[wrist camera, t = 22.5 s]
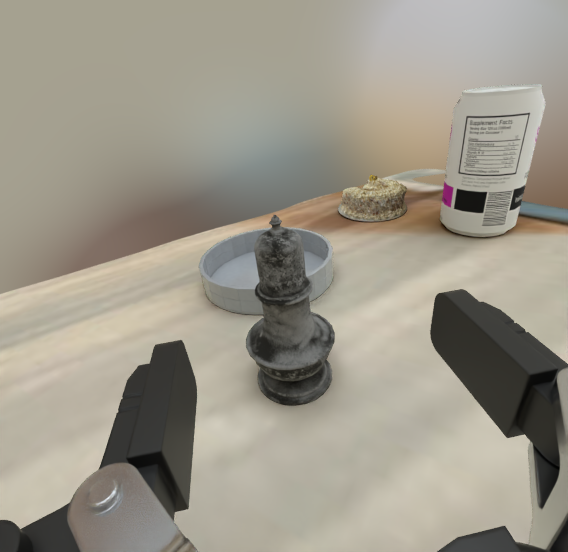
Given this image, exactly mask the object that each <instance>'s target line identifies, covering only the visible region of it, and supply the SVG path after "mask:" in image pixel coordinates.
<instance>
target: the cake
mask: <svg viewBox="0 0 568 552" xmlns="http://www.w3.org/2000/svg"><path fill="white" fill-rule="evenodd" d="M406 189H407V188H406V187H405V186H403V185H402V184H399V183H398V182H397V181H393V180H389V179H388V180H387V179H386V180H384V179H381V178H379V179H377V176H373V175H370V177H369V179H368V181H367V184H365V185H364V187H362V188H359V187H358V188H357V187H351V188H348V189H346V190H344V191H343V193H342V194H343V197H342V201H341V204H340V205H339V207H338V208H339V209H338V210H339V212H340V213H341V214H342V215H343V216H344V217H347V218H351V219H353V220H358V221H369V222H374V221H376V222H380V221H385V220H391V219H395V218H397V217H400V216H401V215H403V214H404V213H405V212H406V210H407V205H406V204H405V201H404V195H405V193H406Z"/></svg>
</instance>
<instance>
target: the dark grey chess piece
mask: <svg viewBox="0 0 568 552" xmlns="http://www.w3.org/2000/svg"><path fill="white" fill-rule="evenodd" d="M281 222H282V221H281V220H279V218H278V217H277V216H276V215H274V216H273V218H272V219H271V221H270V222H269V223H270V224H271V225H272V228H270V229H269V230H268V231H266V232H264V233H263V234H261V235H260V236H259V237H258V239H257V240H256V242H255V245H254V251H255V257H256V264H257V270H258V276H259V283H258V284H257V285H256V288H255V295H256V297H257V299H258V300H260V301H261V302H262V307H263V313H264V318H262V319H261V320H260V321H258V322H257V323H256V324H255V325H254V326H253V327H252V328H251V330H250V331H249V333H248V336H247V338H246V348H247V350H248V352H249V354H250V356H251V357H252V358H253V359H254V360H255V361H256V363H257V365H258V366H259V367H260V370H259V374H258V384H259V386H260V389H261V391H262V392H263V393H264V394H265V395H266V396H267V398H269V399H271V400H273V401H274V402H277V403H280V404H284V405H300V404H306V403H308V402H311V401H313V400H315V399H317V398H318V397H320V396H321V395H322V394H324V392H325V391H326V390H327V389H328V387H329V385H330V383H331V380H332V370H331V367H330V364H329V362H328V361H327V360H326V359H327V357H328V355H329V352H330V350H331V349H332V346H333V344H334V336H335V333H334V330H333V328H332V325H331V324H330V323H329V322H328V321H327V320H326V319H325V318H323V317H321V316H320V315H318V314H316V313H313V312H310V302H309V295H310V294H311V292H312V290H313V283H312V280H311V279H310V278H309V277H307V276H306V270H305V259H304V247H303V242H302V239H301V237H300V236H299V235H298V234H297V233H296V232H295V231H293V230H290V229H288V228H284V227H280V224H281Z"/></svg>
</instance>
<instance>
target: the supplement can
mask: <svg viewBox="0 0 568 552" xmlns="http://www.w3.org/2000/svg"><path fill="white" fill-rule="evenodd" d="M541 88H542V85H538V84H525V85H507V86H495V87H485V88H477V89H470V90H466V91H463V92H462V96H461V98H460V99H459V101H458V102H457V104H456V106H455V107H454V111H453V119H452V127H451V135H450V144H449V151H448V158H447V166H446V174H445V182H444V190H443V198H442V205H441V213H440V220H441V222H442V223H443V224H444V225H445V226H446V228H447V229H449V230H450V231H452V232H455V233H458V234H461V235H467V236H474V237H489V236H497V235H500V234H504V233H505V232H506V231H508V230H510V229H511V228H513V227H514V226H515V225H516V221H517V217H518V213H519V209H520V205H521V201H522V197H523V193H524V189H525V184H526V180H527V176H528V172H529V168H530V164H531V160H532V156H533V152H534V148H535V144H536V140H537V136H538V132H539V127H540V123H541V120H542V115H543V111H544V107H545V100H544V97H543V94H542V91H541Z"/></svg>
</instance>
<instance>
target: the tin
mask: <svg viewBox="0 0 568 552" xmlns="http://www.w3.org/2000/svg"><path fill="white" fill-rule="evenodd" d="M284 228H288V229H290V230H293V231H295V232H296V233H297V234H298V235H299V236H300V237H301V239H302V242H303V247H304V259H305V270H306V276H307V277H309V278H310V279H311V280H312V283H313V290H312V292H311V294H310V295H309V302H311V301H312V300H314V299H316V298H317V297H319V296H320V295H321V294H322V293H323V292H325V291H326V289H327V288H328V287H329V286H330V284H331V282H332V279H333V272H334V265H333V248H332V246H331V244H330V242H329V241H328V240H327V239H326V238H325V237H324V236H322V235H320V234H318V233H315V232H313V231H309V230H305V229H300V228H289V227H284ZM269 229H270V228H265V229H257V230H253V231H248V232H244V233H241V234H238V235H235V236H232V237H229V238H227V239H225V240H223V241H221V242H219V243H217V244H216V245H214V246H213V247H211V248H210V249H209V250H207V252H206V253H205V254H204V255H203V256H202V257H201V260H200V263H199V269H200V273H201V277H202V281H203V284H204V288H205V292H206V295H207V297H208V298H209V300H210V301H211V302H212V303H214V304H215V305H216V306H218V307H220V308H222V309H224V310H227V311H231V312H234V313H240V314H251V315H262V314H264V313H263V307H262V302H261V301H260V300H258V299H257V297H256V295H255V288H256V285H257V284H258V283H259V276H258V270H257V264H256V257H255V251H254V245H255V242H256V240H257V239H258V237H259V236H260V235H261V234H263V233H264V232H266V231H268V230H269Z"/></svg>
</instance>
